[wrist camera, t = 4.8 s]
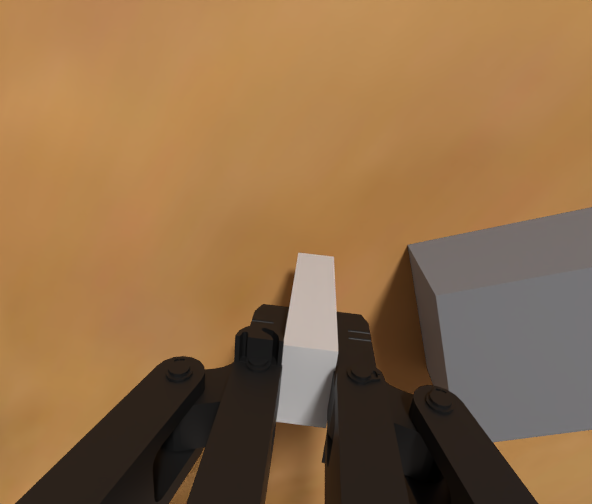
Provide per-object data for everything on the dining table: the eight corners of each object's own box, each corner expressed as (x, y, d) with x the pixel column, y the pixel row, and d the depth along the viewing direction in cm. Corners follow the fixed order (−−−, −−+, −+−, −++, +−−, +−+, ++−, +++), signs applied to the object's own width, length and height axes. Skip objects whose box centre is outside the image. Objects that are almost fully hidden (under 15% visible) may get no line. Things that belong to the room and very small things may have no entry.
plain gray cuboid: (426, 366, 20) (456, 446, 16) (406, 243, 18) (435, 295, 13) (637, 332, 19) (739, 410, 14) (648, 193, 16) (775, 233, 12)
